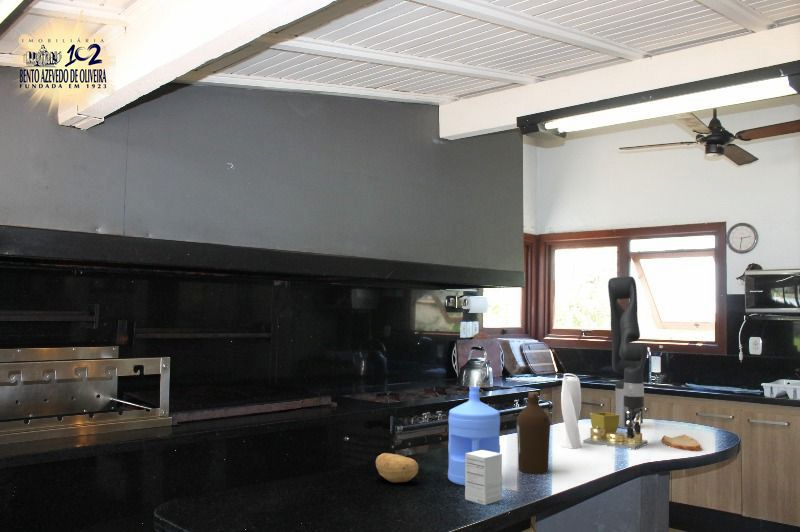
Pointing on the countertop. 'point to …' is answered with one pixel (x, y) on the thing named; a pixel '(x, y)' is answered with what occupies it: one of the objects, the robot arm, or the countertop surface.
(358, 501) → the countertop surface
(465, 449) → the water jug
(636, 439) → the gold octagonal ring
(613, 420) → the flower pot
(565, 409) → the skyscraper
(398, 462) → the potato
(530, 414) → the olive oil
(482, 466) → the supplement box
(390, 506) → the countertop surface
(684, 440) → the slice of bread
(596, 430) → the carrier
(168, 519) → the countertop surface
